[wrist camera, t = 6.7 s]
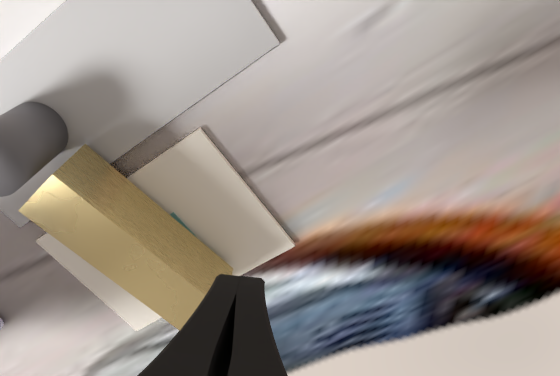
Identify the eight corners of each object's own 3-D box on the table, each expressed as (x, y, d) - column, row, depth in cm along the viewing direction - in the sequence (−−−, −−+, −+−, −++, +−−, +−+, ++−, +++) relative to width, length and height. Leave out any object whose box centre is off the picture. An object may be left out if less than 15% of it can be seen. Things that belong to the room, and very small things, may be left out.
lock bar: (53, 176, 21) (17, 210, 18) (85, 143, 20) (52, 174, 17) (200, 292, 24) (187, 336, 21) (233, 268, 23) (224, 310, 20)
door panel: (137, 328, 26) (112, 388, 23) (-80, 133, 21) (-157, 173, 17) (383, 195, 21) (398, 246, 18) (182, -104, 16) (148, -116, 12)
